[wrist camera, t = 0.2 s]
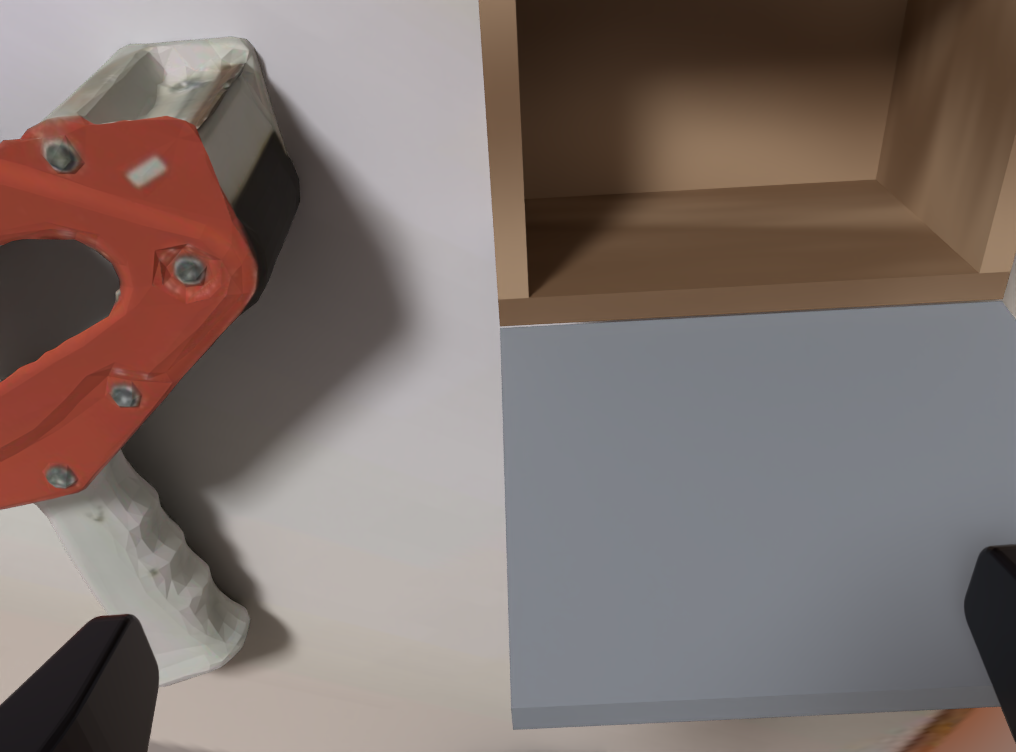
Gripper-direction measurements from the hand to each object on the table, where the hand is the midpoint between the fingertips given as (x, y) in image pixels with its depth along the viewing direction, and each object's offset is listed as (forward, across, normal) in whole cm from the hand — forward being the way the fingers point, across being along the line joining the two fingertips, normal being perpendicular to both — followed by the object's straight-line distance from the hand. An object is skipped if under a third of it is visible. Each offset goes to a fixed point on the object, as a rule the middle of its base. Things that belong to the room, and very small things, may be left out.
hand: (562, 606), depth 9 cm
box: (+15, -5, -2) cm, 16 cm away
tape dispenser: (+16, +12, +5) cm, 20 cm away
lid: (+5, -4, +2) cm, 7 cm away
